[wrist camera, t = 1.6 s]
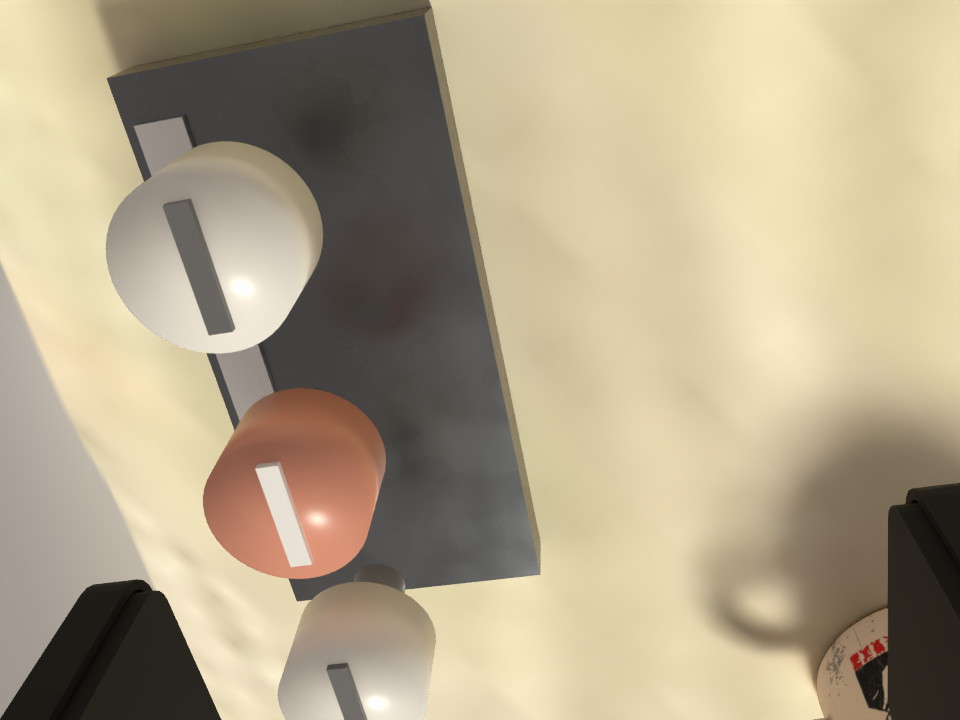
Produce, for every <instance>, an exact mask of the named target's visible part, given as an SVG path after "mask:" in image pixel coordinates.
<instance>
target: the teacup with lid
mask: <svg viewBox="0 0 960 720" xmlns="http://www.w3.org/2000/svg"><path fill="white" fill-rule="evenodd" d="M887 692H888V608H886V609H883V610H880V611H878V612H875V613H873V614H871V615H869V616H867V617H865V618H863V619H861V620H860V621H858V622H857V623H855V624H854V625H852V626H851V627H850V628H848V629H847V630H846V631H845V632H844V633H843V634H841V635H840V636H839V637H838V638H837V640H836V641H835V642H834V643H833V644H832V645H831V647H830V648H829V649H828V651H827V653H826V654H825V656H824V658H823V660H822V662H821V665H820V668H819V671H818V676H817V695H818V700H819V704H820V707H821V710H822V712H823V715H824V718H821V719H814V720H891V716H890V711H889V705H888V694H887Z"/></svg>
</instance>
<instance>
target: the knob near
mask: <svg viewBox="0 0 960 720" xmlns="http://www.w3.org/2000/svg"><path fill="white" fill-rule="evenodd" d="M322 245H323V227H322V220H321V216H320V212H319V209H318V206H317V203H316V201H315V199H314V197H313V195H312V193H311V191H310V190H309V188H308V187H307V185H306V184H305V182H304V181H303V180H302V178H301V177H300V176H299V175H298V174H297V173H296V172H295V171H294V170H293V169H292V168H291V167H290V166H289V165H288V164H286V163H285V162H284V161H282V160H281V159H280V158H278V157H277V156H275V155H273V154H271V153H270V152H268V151H266V150H263V149H261V148H258V147H256V146H252V145H249V144H245V143H239V142H231V141H220V142H211V143H207V144H203V145H199V146H197V147H194V148H192V149H190V150H188V151H186V152H185V153H183V154H181V155H180V156H179V157H177V158H176V159H175V160H173V161H172V162H171V163H169V164H168V165H167V166H165V167H164V168H163V169H161V170H160V171H159V172H157V173H156V174H155V175H153V176H152V177H151V178H149V179H148V180H147V181H145V182H144V183H143V184H141V185H140V186H139V187H137V188H136V189H135V190H134V191H132V192H131V193H130V194H129V195H128V196H127V197H126V198H125V199H124V200H123V201H122V203H121V204H120V205H119V207H118V208H117V210H116V212H115V213H114V215H113V218H112V220H111V222H110V225H109V229H108V233H107V241H106V258H107V264H108V269H109V273H110V276H111V279H112V282H113V284H114V286H115V289H116V291H117V293H118V295H119V296H120V298H121V299H122V301H123V303H124V304H125V305H126V307H127V308H128V309H129V311H130V312H131V313H132V314H133V315H134V316H135V317H136V318H137V319H138V320H139V321H140V322H141V323H142V324H143V325H144V326H145V327H147V328H148V329H149V330H150V331H152V332H153V333H155V334H156V335H158V336H159V337H161V338H162V339H164V340H166V341H168V342H170V343H172V344H175V345H177V346H180V347H182V348H185V349H189V350H193V351H197V352H204V353H219V354H220V353H231V352H236V351H241V350H244V349H247V348H250V347H252V346H254V345H256V344H258V343H260V342H262V341H264V340H265V339H266V338H268V337H269V336H271V335H272V334H273V333H274V332H275V331H276V330H277V329H278V328H279V327H280V325H281V324H282V323H283V321H284V320H285V319H286V317H287V315H288V314H289V312H290V310H291V309H292V307H293V305H294V304H295V302H296V300H297V299H298V297H299V295H300V293H301V292H302V290H303V288H304V287H305V285H306V283H307V282H308V280H309V278H310V277H311V275H312V273H313V271H314V269H315V268H316V266H317V263H318V261H319V258H320V255H321V250H322Z"/></svg>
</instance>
